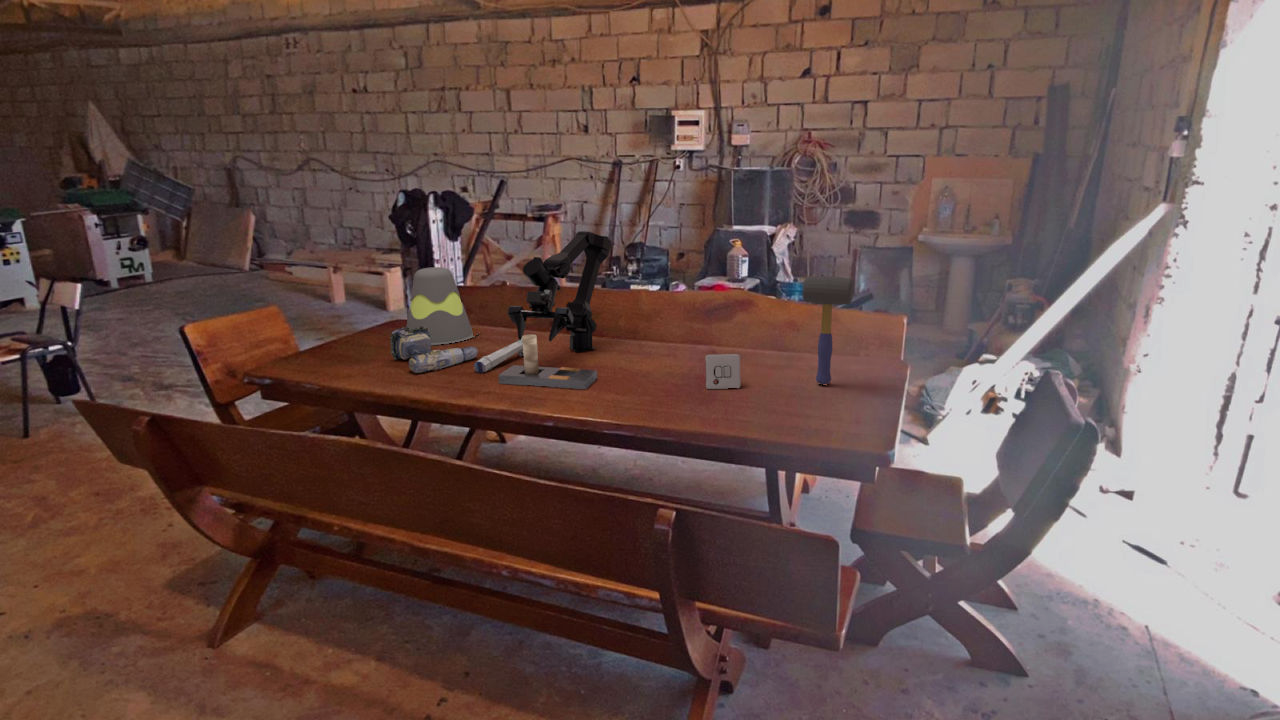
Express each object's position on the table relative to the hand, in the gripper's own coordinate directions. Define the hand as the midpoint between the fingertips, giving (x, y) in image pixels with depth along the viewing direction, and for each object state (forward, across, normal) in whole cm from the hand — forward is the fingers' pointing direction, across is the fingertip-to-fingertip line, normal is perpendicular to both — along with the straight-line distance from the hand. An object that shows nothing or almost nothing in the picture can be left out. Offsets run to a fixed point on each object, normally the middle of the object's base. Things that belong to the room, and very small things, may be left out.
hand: (534, 340), depth 215 cm
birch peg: (+10, 0, +5) cm, 11 cm away
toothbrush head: (-1, -14, +16) cm, 22 cm away
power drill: (+3, -39, +13) cm, 41 cm away
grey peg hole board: (+11, +5, +5) cm, 13 cm away
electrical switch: (+8, +54, +7) cm, 55 cm away
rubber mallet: (+4, +81, +11) cm, 82 cm away
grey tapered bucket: (-20, -52, +36) cm, 66 cm away
